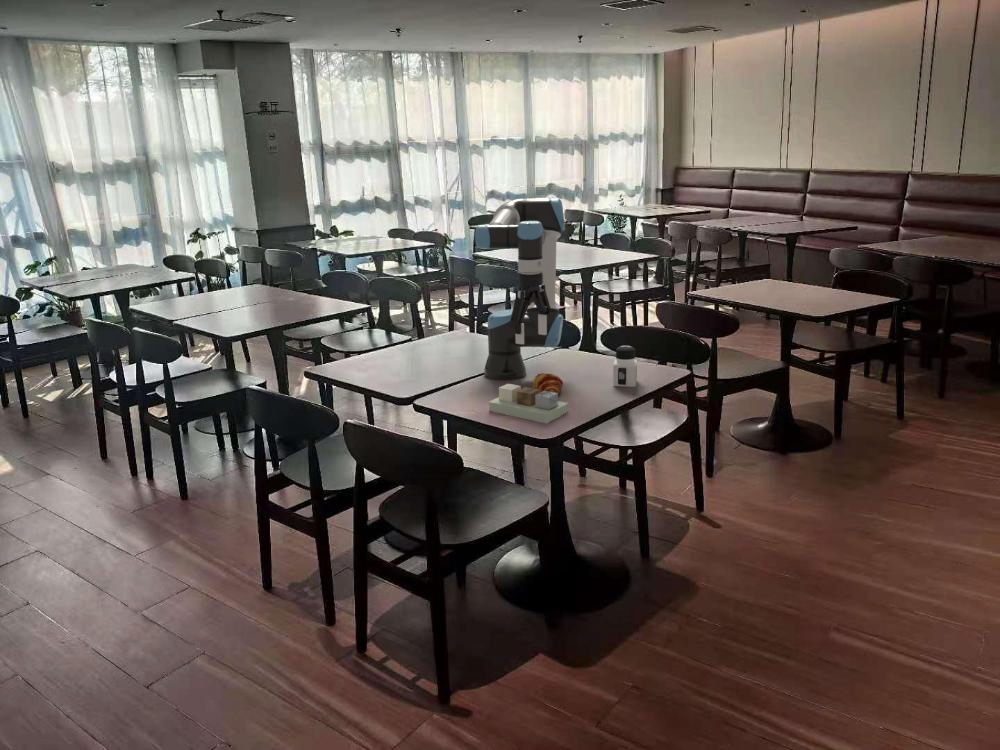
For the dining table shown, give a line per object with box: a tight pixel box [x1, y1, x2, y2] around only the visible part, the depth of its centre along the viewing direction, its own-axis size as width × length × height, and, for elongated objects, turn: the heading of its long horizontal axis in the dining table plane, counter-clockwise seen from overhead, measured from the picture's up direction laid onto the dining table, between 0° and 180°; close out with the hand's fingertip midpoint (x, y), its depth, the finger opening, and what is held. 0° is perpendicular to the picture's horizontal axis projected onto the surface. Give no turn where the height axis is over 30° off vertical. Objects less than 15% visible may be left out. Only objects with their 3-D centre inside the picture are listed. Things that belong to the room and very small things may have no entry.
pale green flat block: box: [488, 396, 569, 424], centre depth 255 cm, size 22×12×3 cm, turn 54°
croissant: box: [531, 372, 564, 395], centre depth 274 cm, size 21×10×8 cm, turn 7°
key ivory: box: [498, 383, 522, 403], centre depth 258 cm, size 5×5×5 cm
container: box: [612, 345, 638, 388], centre depth 279 cm, size 8×8×13 cm
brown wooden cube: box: [517, 386, 539, 407], centre depth 254 cm, size 5×5×5 cm
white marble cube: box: [535, 391, 559, 411], centre depth 250 cm, size 5×5×5 cm
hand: (531, 339), depth 256 cm, fingers open, 13 cm apart
